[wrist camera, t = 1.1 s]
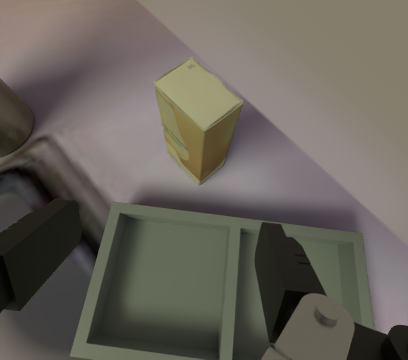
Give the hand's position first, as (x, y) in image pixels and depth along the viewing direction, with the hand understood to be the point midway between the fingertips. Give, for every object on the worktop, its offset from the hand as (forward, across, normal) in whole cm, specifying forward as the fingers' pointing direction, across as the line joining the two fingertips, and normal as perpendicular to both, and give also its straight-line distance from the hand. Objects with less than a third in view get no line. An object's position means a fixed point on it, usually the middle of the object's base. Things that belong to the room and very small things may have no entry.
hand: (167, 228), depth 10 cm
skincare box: (+20, 0, +3) cm, 20 cm away
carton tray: (+10, -4, +13) cm, 17 cm away
